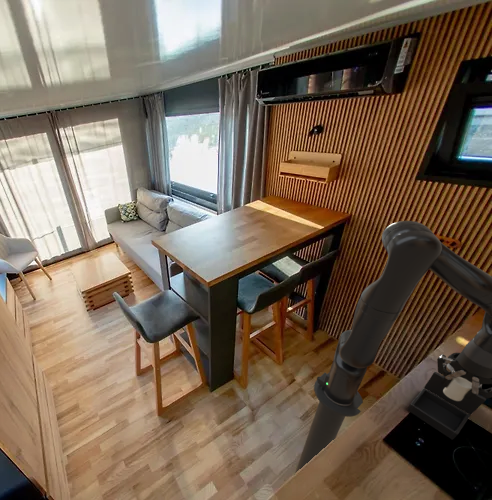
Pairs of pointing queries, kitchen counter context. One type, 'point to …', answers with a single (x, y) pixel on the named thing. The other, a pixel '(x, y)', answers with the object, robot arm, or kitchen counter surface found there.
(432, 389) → the lid
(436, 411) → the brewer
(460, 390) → the cylinder
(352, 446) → the kitchen counter surface
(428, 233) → the robot arm
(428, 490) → the kitchen counter surface
